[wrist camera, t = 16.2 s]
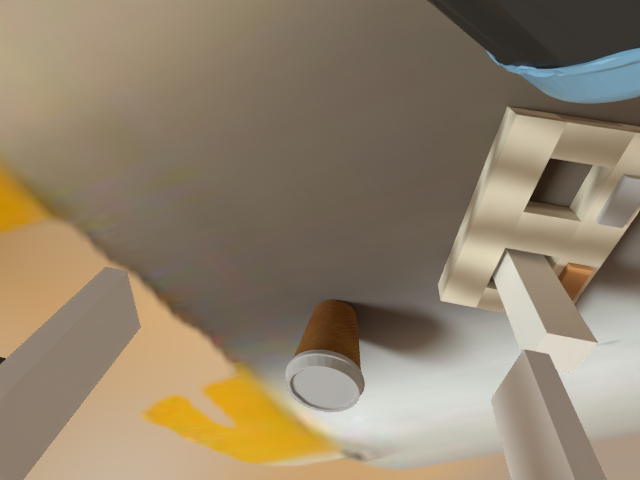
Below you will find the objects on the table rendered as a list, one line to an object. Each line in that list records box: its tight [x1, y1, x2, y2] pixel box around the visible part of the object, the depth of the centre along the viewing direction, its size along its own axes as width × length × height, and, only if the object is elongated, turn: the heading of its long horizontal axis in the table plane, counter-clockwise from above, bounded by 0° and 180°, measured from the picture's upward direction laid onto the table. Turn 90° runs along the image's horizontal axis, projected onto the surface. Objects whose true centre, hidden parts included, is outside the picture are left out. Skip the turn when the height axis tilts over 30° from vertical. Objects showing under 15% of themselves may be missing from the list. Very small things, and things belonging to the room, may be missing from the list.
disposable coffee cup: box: [285, 300, 365, 412], centre depth 47 cm, size 10×10×12 cm
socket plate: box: [438, 106, 640, 313], centre depth 37 cm, size 22×14×4 cm, turn 174°
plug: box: [492, 248, 598, 373], centre depth 36 cm, size 4×4×14 cm
